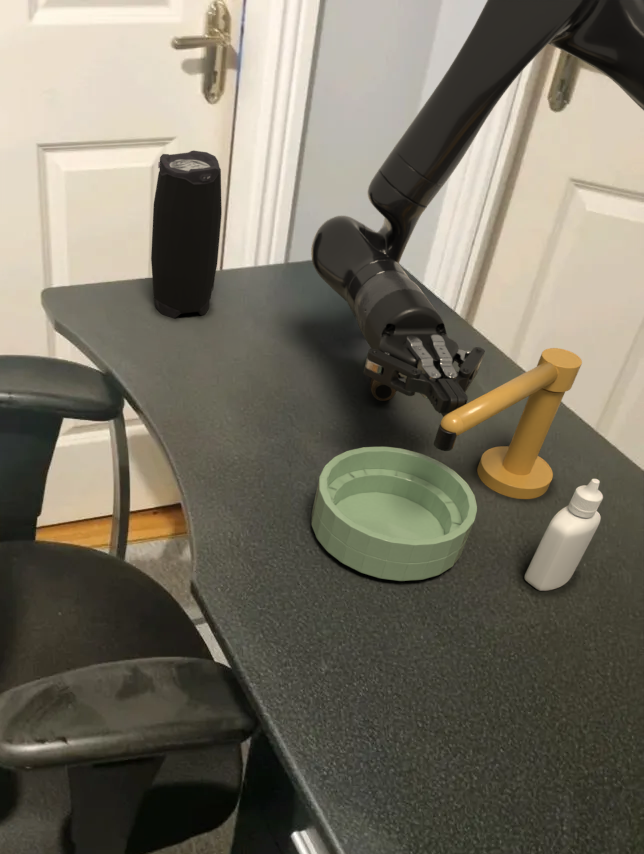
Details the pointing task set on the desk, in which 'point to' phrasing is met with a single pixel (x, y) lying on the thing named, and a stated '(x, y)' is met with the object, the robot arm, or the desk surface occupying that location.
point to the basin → (392, 513)
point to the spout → (511, 394)
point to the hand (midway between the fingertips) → (455, 409)
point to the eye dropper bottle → (566, 539)
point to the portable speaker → (186, 232)
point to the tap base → (523, 452)
